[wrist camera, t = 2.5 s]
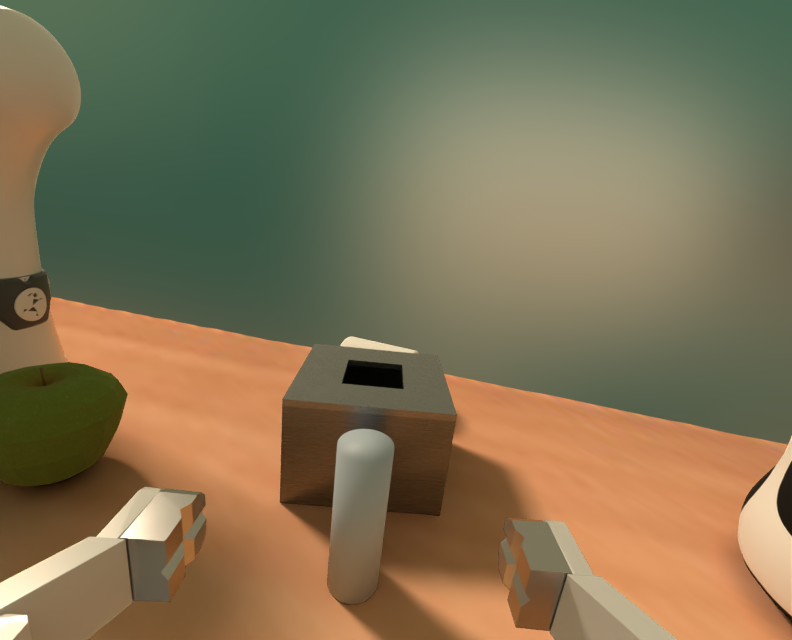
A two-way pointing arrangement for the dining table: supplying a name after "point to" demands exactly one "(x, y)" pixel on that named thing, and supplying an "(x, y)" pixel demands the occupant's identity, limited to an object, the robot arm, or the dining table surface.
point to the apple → (56, 421)
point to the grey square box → (368, 423)
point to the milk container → (770, 532)
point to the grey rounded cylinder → (359, 513)
